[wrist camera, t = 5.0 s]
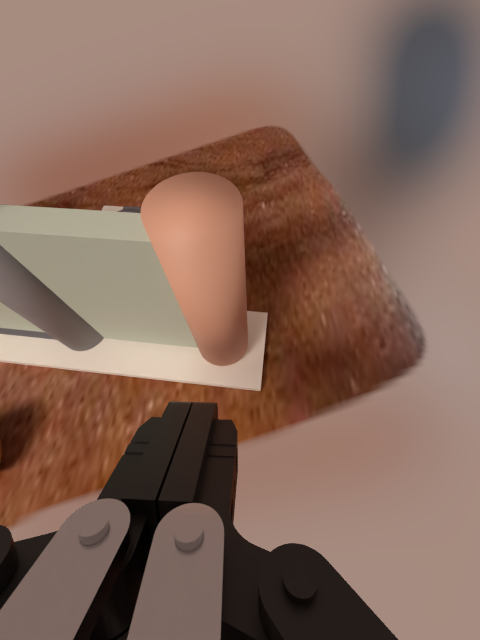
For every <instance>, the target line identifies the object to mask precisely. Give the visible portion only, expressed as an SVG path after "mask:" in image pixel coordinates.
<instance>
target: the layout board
mask: <svg viewBox="0 0 480 640" xmlns="http://www.w3.org/2000/svg"><path fill="white" fill-rule="evenodd" d="M102 211H113V212H130V213H141V207H129V206H124V207H120V206H103V209H102ZM267 315H268V313H265V312H254V311H247V326H248V347H247V350H246V352H245V354H244V356H243V357H242V358H241V359H240V360H239V361H237V362H236V363H234V364H231V365H228V366H216V365H213V364H211V363H209V362H208V361H206V360H205V359H204V358H203V356H202V355H201V353H200V351H199V349H198V348H194V347H184V346H174V345H164V344H154V343H145V342H135V341H125V340H115V339H105V338H103V340H102V341H101V342H100V343H99V344H98V345H97V346H95V347H94V348H92V349H90V350H86V351H74V350H72V349H70V348H68V347H67V346H65V345H64V344H62V343H61V342H59V341H58V340H56V339H55V338H53V337H52V336H50V335H49V334H47V333H46V332H37V331H27V330H17V329H7V328H0V362H6V363H15V364H24V365H33V366H42V367H50V368H59V369H68V370H77V371H86V372H95V373H104V374H112V375H121V376H130V377H139V378H148V379H157V380H166V381H174V382H183V383H192V384H201V385H210V386H219V387H227V388H236V389H245V390H254V391H261V380H262V370H263V359H264V348H265V337H266V326H267Z"/></svg>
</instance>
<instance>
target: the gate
mask: <svg viewBox="0 0 480 640" xmlns="http://www.w3.org/2000/svg"><path fill="white" fill-rule="evenodd" d="M0 245H1V246H2V247H3V248H4V249H5V250H6V251H8V252H9V253H10V254H11V255H12V256H13V257H14V258H15V259H17V260H18V261H19V262H20V263H21V264H22V265H23V266H24V267H26V268H27V269H28V270H29V271H30V272H31V273H32V274H33V275H35V276H36V277H37V278H38V279H39V280H40V281H41V282H42V283H43V284H45V285H46V286H47V287H48V288H49V289H50V290H51V291H52V292H54V293H55V294H56V295H57V296H58V297H59V298H60V299H61V300H63V301H64V302H65V303H66V304H67V305H68V306H69V307H70V308H71V309H73V310H74V311H75V312H76V313H77V314H78V315H79V316H80V317H82V318H83V319H84V320H85V321H86V322H87V323H88V324H89V325H91V326H92V327H93V328H94V329H95V330H96V331H97V332H98V333H100V334H101V335H102V336H103V337H104V338H105V339H115V340H125V341H135V342H145V343H154V344H164V345H174V346H184V347H194V348H198V349H199V351H200V353H201V355H202V356H203V358H204V359H205V360H206V361H208V362H209V363H211V364H213V365H216V366H228V365H231V364H234V363H236V362H237V361H239V360H240V359H241V358H242V357H243V356H244V354H245V352H246V350H247V347H248V326H247V299H246V272H245V246H244V219H243V200H242V196H241V194H240V192H239V190H238V189H237V187H236V186H235V185H234V184H233V183H232V182H230V181H229V180H227V179H226V178H224V177H222V176H219V175H216V174H213V173H208V172H188V173H182V174H178V175H175V176H172V177H170V178H167V179H165V180H164V181H162V182H160V183H159V184H157V185H156V186H155V187H154V188H153V189H151V191H150V192H149V193H148V194H147V196H146V197H145V199H144V201H143V203H142V206H141V213H130V212H113V211H97V210H81V209H65V208H49V207H33V206H17V205H0Z"/></svg>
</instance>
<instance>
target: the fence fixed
mask: <svg viewBox="0 0 480 640" xmlns="http://www.w3.org/2000/svg"><path fill="white" fill-rule="evenodd" d="M0 328H7V329H17V330H27V331H37V332H46V333H47V334H49V335H50V336H52V337H53V338H55V339H56V340H58V341H59V342H61V343H62V344H64V345H65V346H67V347H68V348H70V349H72V350H74V351H86V350H90V349H92V348H94V347H95V346H97V345H98V344H99V343H100V342H101V341H102V340H103V338H104V337H103V336H102V335H101V334H100V333H98V332H97V331H96V330H95V329H94V328H93V327H92V326H91V325H89V324H88V323H87V322H86V321H85V320H84V319H83V318H82V317H80V316H79V315H78V314H77V313H76V312H75V311H74V310H73V309H71V308H70V307H69V306H68V305H67V304H66V303H65V302H64V301H63V300H61V299H60V298H59V297H58V296H57V295H56V294H55V293H54V292H52V291H51V290H50V289H49V288H48V287H47V286H46V285H45V284H43V283H42V282H41V281H40V280H39V279H38V278H37V277H36V276H35V275H33V274H32V273H31V272H30V271H29V270H28V269H27V268H26V267H24V266H23V265H22V264H21V263H20V262H19V261H18V260H17V259H15V258H14V257H13V256H12V255H11V254H10V253H9V252H8V251H6V250H5V249H4V248H3V247H2V246H1V245H0Z"/></svg>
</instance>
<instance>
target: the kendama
mask: <svg viewBox="0 0 480 640" xmlns="http://www.w3.org/2000/svg"><path fill="white" fill-rule="evenodd" d="M1 460H2V442H1V439H0V465H1Z"/></svg>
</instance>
